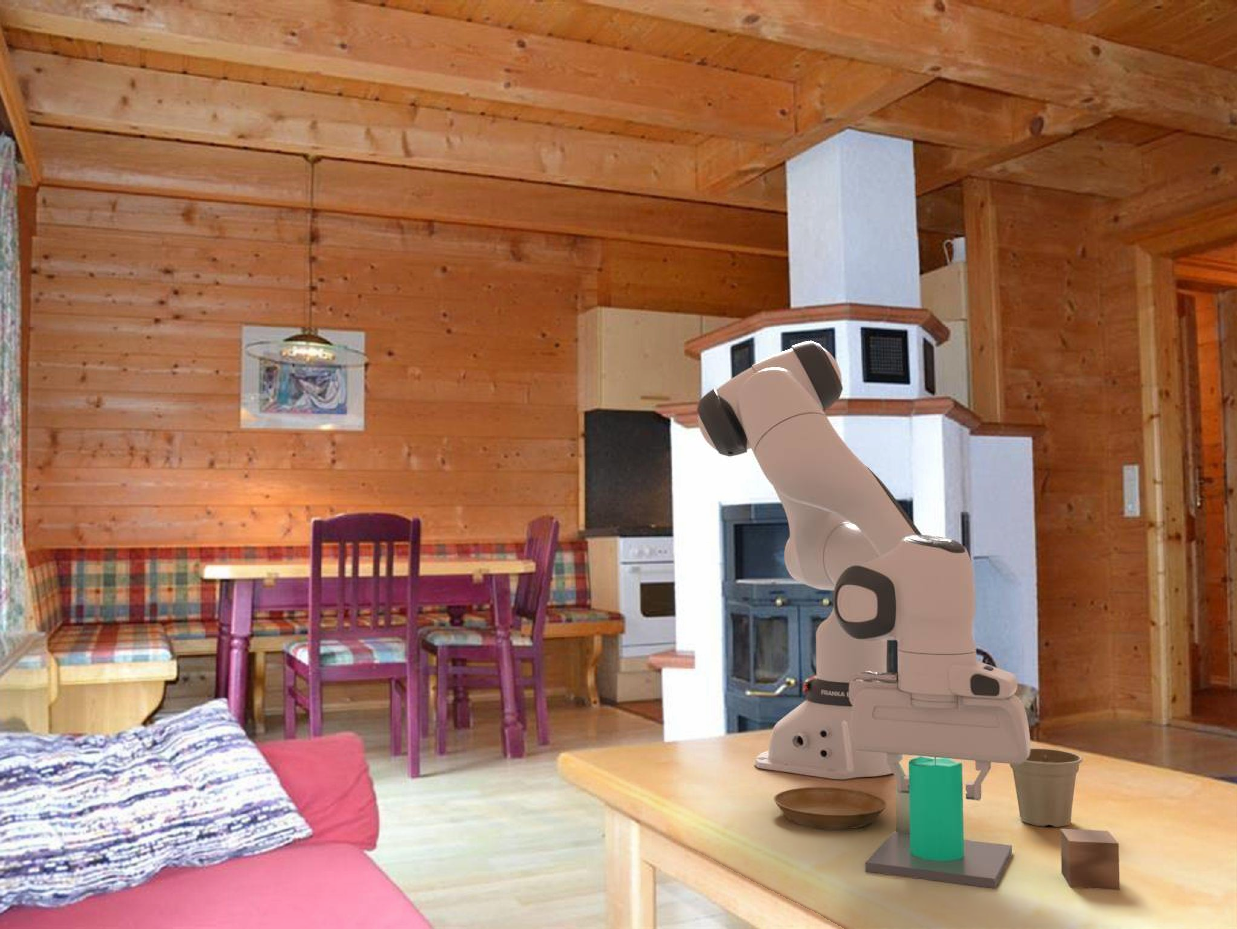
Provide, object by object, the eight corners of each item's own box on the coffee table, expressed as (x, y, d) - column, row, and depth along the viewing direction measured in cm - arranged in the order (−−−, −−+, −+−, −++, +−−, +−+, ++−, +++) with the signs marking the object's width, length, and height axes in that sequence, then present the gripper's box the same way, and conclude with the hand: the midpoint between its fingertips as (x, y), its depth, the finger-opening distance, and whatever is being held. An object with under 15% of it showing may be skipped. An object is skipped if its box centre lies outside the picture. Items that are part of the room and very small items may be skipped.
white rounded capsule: (892, 835, 143) (892, 787, 143) (901, 826, 148) (900, 779, 148) (933, 840, 141) (932, 791, 141) (941, 830, 145) (940, 783, 146)
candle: (966, 862, 128) (964, 754, 129) (911, 859, 130) (909, 752, 130) (961, 847, 134) (959, 744, 135) (908, 844, 136) (907, 742, 136)
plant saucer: (907, 819, 152) (907, 799, 152) (847, 841, 141) (847, 820, 142) (814, 800, 162) (814, 781, 162) (751, 820, 152) (751, 800, 152)
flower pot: (1076, 835, 143) (1074, 765, 143) (999, 825, 148) (998, 757, 148) (1090, 818, 151) (1088, 752, 151) (1016, 809, 156) (1015, 745, 156)
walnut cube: (1070, 888, 123) (1069, 841, 123) (1061, 874, 128) (1060, 828, 128) (1119, 890, 122) (1118, 843, 122) (1109, 876, 127) (1107, 830, 127)
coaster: (865, 871, 129) (865, 862, 129) (893, 839, 141) (893, 831, 141) (994, 888, 122) (994, 878, 122) (1012, 853, 135) (1011, 845, 135)
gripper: (841, 673, 135) (843, 792, 134) (1024, 684, 126) (1027, 811, 125) (855, 667, 140) (856, 781, 140) (1031, 676, 131) (1033, 798, 131)
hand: (938, 795), depth 132 cm, fingers open, 6 cm apart
